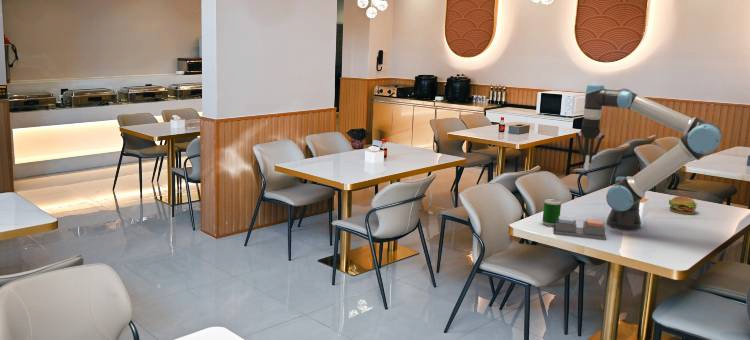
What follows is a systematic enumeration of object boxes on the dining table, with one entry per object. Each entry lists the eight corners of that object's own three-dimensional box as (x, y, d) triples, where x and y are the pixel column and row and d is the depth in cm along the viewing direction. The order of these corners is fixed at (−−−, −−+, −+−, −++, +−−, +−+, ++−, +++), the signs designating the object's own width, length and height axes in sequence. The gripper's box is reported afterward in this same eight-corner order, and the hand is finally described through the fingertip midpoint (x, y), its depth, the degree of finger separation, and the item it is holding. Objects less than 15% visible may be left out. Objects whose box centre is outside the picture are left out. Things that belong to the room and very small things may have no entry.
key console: (604, 233, 298) (605, 222, 297) (605, 240, 287) (607, 229, 286) (553, 227, 303) (554, 217, 302) (553, 234, 293) (554, 223, 292)
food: (698, 211, 349) (700, 196, 348) (694, 216, 338) (696, 201, 336) (670, 206, 356) (671, 192, 355) (665, 211, 345) (667, 196, 343)
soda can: (559, 227, 304) (562, 202, 302) (542, 226, 305) (545, 200, 303) (558, 223, 311) (560, 198, 309) (541, 221, 313) (544, 197, 310)
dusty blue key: (573, 223, 298) (573, 217, 298) (573, 227, 292) (574, 220, 292) (558, 222, 300) (558, 215, 299) (558, 225, 294) (559, 219, 293)
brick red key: (601, 226, 295) (601, 220, 295) (602, 230, 289) (602, 224, 289) (586, 225, 297) (586, 218, 296) (586, 229, 291) (587, 222, 290)
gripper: (606, 118, 303) (600, 169, 307) (576, 116, 306) (571, 166, 310) (607, 120, 296) (601, 172, 300) (577, 118, 299) (571, 169, 303)
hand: (586, 169), depth 305 cm, fingers closed
